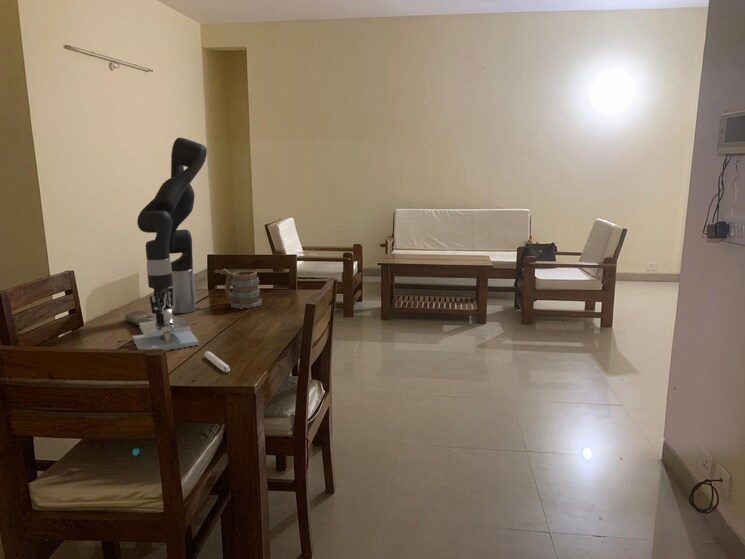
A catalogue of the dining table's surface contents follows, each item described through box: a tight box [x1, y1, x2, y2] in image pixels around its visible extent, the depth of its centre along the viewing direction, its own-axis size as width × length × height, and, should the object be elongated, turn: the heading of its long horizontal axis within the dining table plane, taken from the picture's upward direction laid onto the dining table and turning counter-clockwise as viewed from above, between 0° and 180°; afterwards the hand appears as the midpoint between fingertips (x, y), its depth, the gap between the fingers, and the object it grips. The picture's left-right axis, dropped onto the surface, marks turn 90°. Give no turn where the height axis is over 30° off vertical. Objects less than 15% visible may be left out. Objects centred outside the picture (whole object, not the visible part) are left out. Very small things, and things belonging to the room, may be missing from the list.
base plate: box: [132, 330, 200, 352], centre depth 184 cm, size 18×18×4 cm
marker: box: [204, 351, 231, 373], centre depth 162 cm, size 18×2×2 cm, turn 35°
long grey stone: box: [124, 310, 178, 326], centre depth 204 cm, size 35×5×10 cm
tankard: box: [219, 268, 263, 310], centre depth 236 cm, size 20×13×15 cm, turn 58°
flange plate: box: [138, 307, 192, 338], centre depth 183 cm, size 14×14×7 cm
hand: (164, 322), depth 183 cm, fingers closed on flange plate, 5 cm apart
